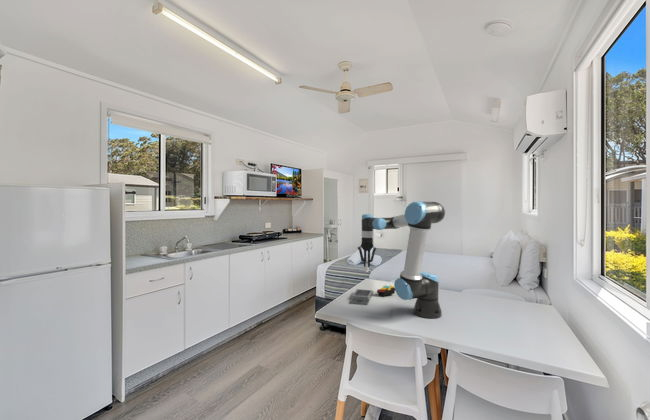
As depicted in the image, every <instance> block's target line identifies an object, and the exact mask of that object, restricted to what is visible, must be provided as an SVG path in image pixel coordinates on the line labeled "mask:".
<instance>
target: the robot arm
mask: <svg viewBox="0 0 650 420" xmlns="http://www.w3.org/2000/svg"><path fill="white" fill-rule="evenodd" d="M445 215H446V209H445V207H444V206H443V205H442V204H441V203H439V202H437V201H422V200H421V201H420V200H419V201H418V200H417V201H412V202H411V203H409V204H408V205H407V206H406V207H405V210H404V213H403V214H399V215H394V216H391V217H374V215H373V214H369V213H368V214H367V213H365V214H362V215H361V244H360V245H359V246H358V247H357V250H358V253H359V255H360V261H361V262H363V267H364V268H365V273H368V272H369V268H370V267H371V262H373V261H374V258H375V253H376V251H377V250H378V249H377V247H375V246H374V236H373V235H374V230H377V231H382V230H395V229H396V230H398V229H400V228H403V227H409V234H408V241H407V247H406V253H405V254H406V255H405V259H404V267H403V270H401V272H400V274H399V277H398V278H396V280H394V285H393V287H394V288H395V293H396V296H398V297H399V298H400V299H402V300H404V301H407V300H408V301H409V300H410V301H411V300H414V299H416V301H415V302H414V306H413V313H414V314H415V315H417V316H419V317H420V318H423V319H424V318H426V319H438V318H441V317H442V315H443V311H442V308H441V305H440V303H439V283H440V282H439V277H438V275H437V274H434V273H431V272H424V271H423V272H422V264H423V256H424V251H425V246H426V239H427V233H428V231H430V230H432V229H431V228H432V224H438V223H440V222H441V221H443V219H444V218H445ZM371 250H372V253H371Z"/></svg>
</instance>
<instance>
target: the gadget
mask: <svg viewBox="0 0 650 420" xmlns="http://www.w3.org/2000/svg"><path fill="white" fill-rule="evenodd" d="M376 293H377V294H378V296H380V297H385V296H392V295H393V294H395V293H396V291H395V288H394V285H383V286H382V287H381V288H379V289H377V290H376Z"/></svg>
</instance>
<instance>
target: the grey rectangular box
mask: <svg viewBox="0 0 650 420" xmlns="http://www.w3.org/2000/svg"><path fill="white" fill-rule="evenodd" d="M373 294H374V291H373V290H372V289H361V288H356V290H355V291H354V293H352V295H351V300H350V301H349V304H350V305H360V306H368V304H369V303H370V301H371V299H372V297H373Z"/></svg>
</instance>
